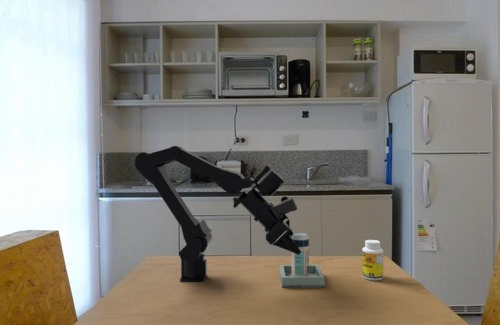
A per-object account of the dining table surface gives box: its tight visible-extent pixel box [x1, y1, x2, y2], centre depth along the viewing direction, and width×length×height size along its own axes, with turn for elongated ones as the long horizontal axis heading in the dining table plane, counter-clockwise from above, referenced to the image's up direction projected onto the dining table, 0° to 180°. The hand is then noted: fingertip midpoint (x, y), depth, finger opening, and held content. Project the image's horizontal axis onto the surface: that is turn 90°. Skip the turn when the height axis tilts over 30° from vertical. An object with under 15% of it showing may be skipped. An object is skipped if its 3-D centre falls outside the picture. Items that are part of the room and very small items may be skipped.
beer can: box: [291, 232, 310, 276], centre depth 100 cm, size 5×5×12 cm
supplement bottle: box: [361, 239, 384, 281], centre depth 102 cm, size 6×6×10 cm
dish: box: [279, 264, 326, 289], centre depth 101 cm, size 11×11×3 cm
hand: (299, 248), depth 100 cm, fingers open, 9 cm apart
